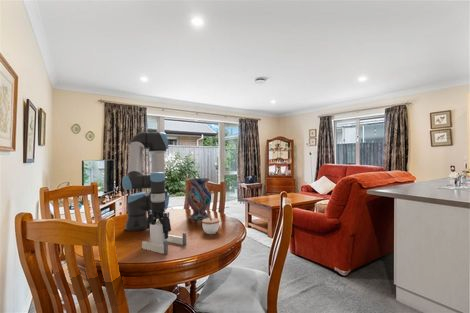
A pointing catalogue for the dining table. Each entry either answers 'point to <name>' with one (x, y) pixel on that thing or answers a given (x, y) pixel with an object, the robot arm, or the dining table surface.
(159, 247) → the pair of white bars
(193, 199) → the vase
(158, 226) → the cup
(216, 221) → the lidded jar
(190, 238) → the dining table surface
